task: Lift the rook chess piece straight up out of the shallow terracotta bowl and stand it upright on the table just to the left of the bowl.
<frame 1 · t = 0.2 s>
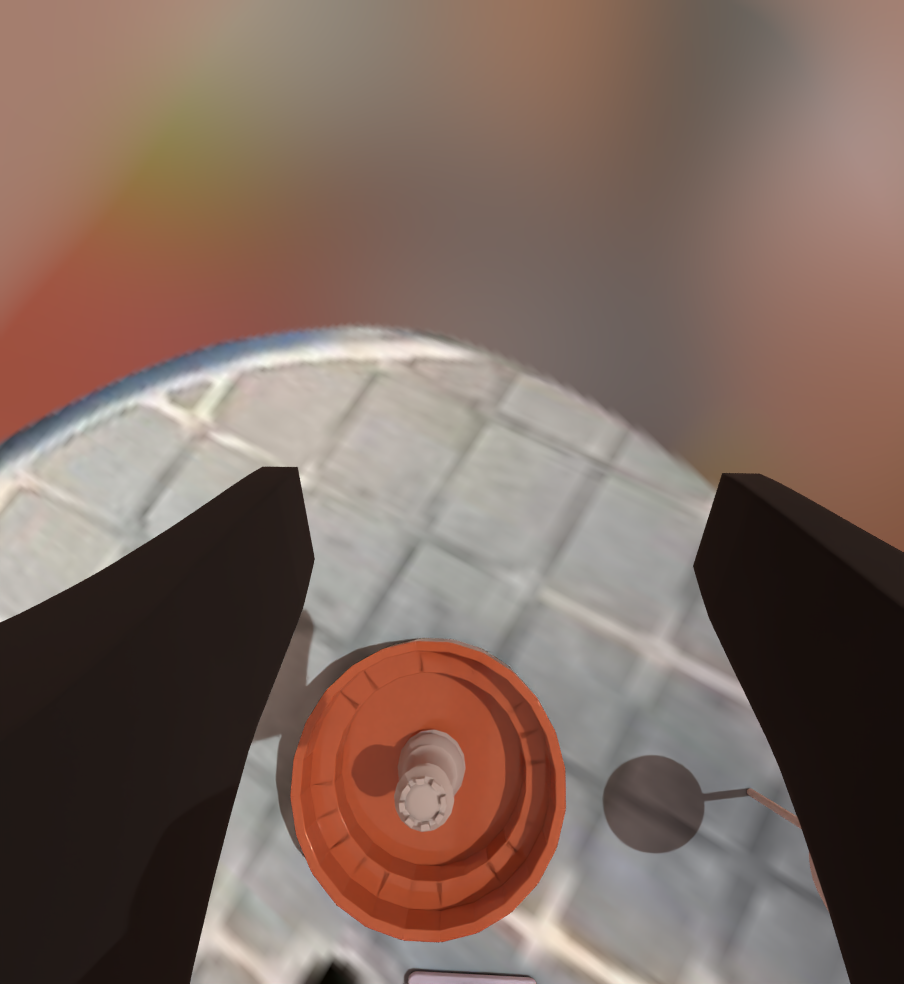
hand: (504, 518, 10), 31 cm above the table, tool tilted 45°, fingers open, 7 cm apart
lollipop: (748, 791, 36), on the table
rook chess piece: (432, 763, 37), resting on terracotta bowl
terracotta bowl: (432, 762, 37), on the table
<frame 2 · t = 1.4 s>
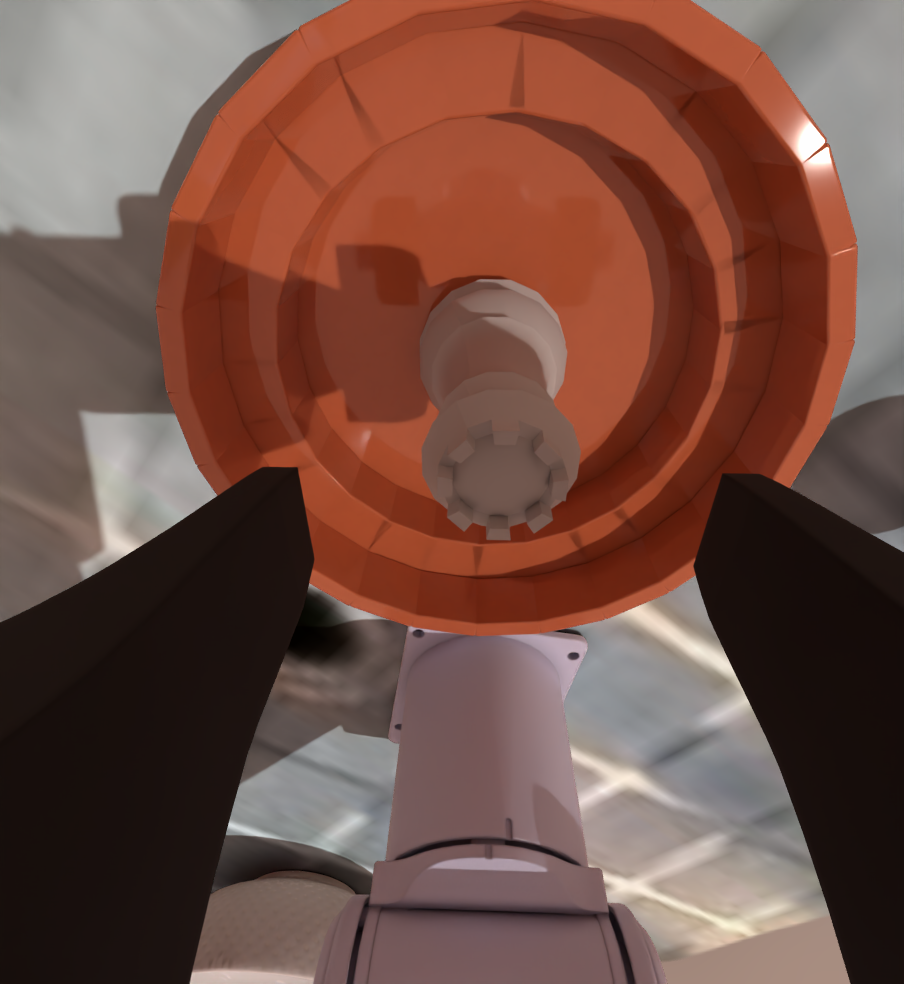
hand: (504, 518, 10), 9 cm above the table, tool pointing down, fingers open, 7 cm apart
rook chess piece: (491, 347, 17), resting on terracotta bowl
cereal bowl: (304, 889, 41), on the table
terracotta bowl: (491, 345, 17), on the table
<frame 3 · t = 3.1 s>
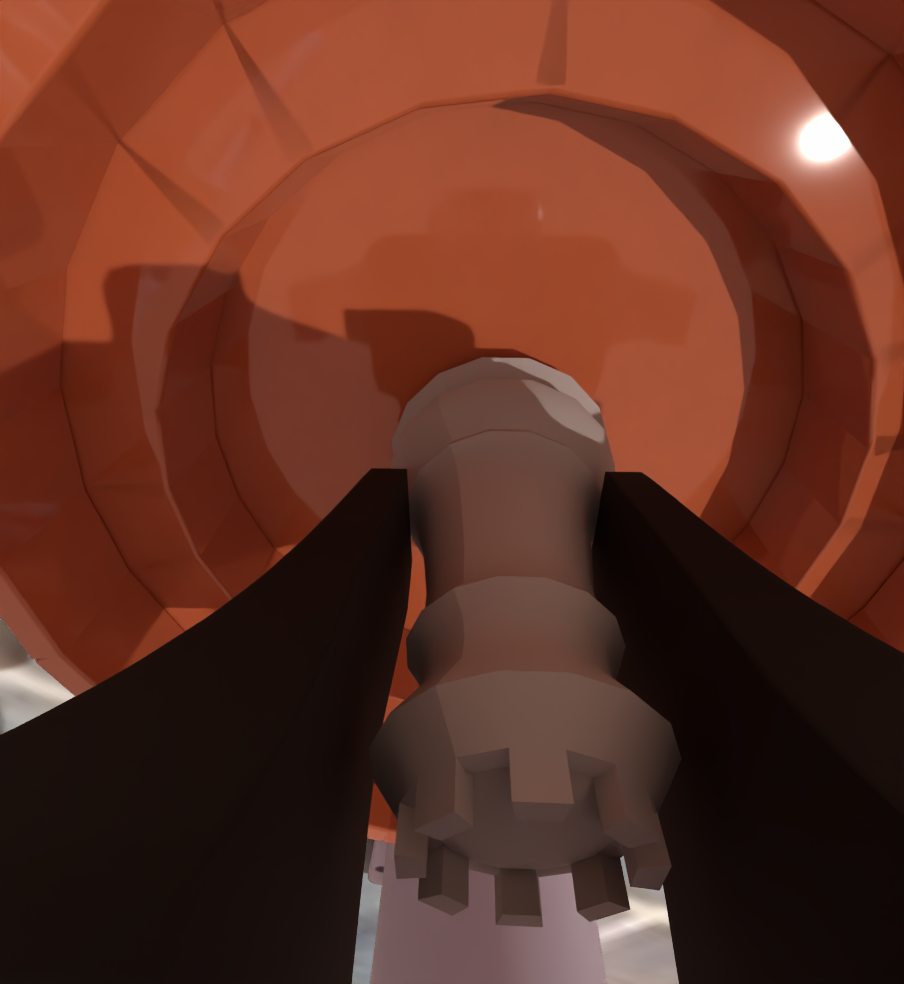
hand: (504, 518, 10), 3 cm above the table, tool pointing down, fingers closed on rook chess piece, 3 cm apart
rook chess piece: (497, 444, 12), resting on terracotta bowl, touching gripper
terracotta bowl: (498, 440, 12), on the table
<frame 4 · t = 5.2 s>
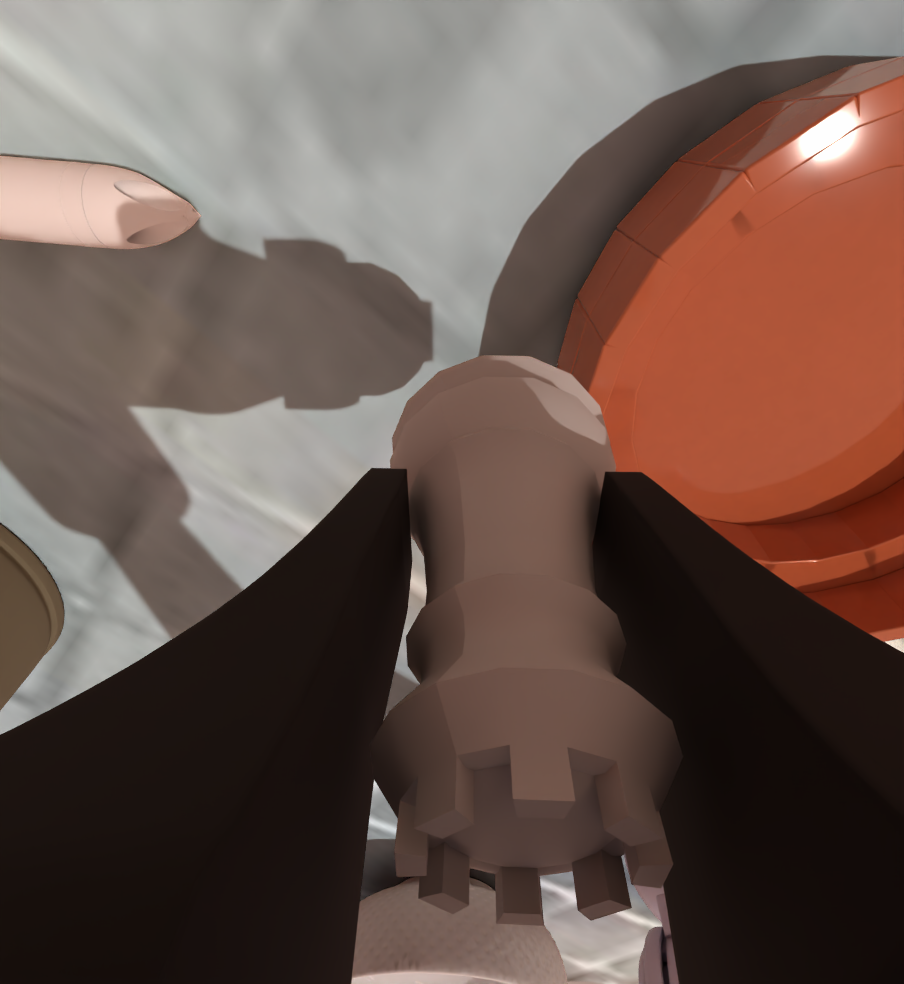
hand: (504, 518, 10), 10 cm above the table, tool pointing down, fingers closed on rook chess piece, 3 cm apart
rook chess piece: (498, 443, 12), point 7 cm above the table, touching gripper
cereal bowl: (445, 892, 42), on the table
terracotta bowl: (802, 370, 18), on the table
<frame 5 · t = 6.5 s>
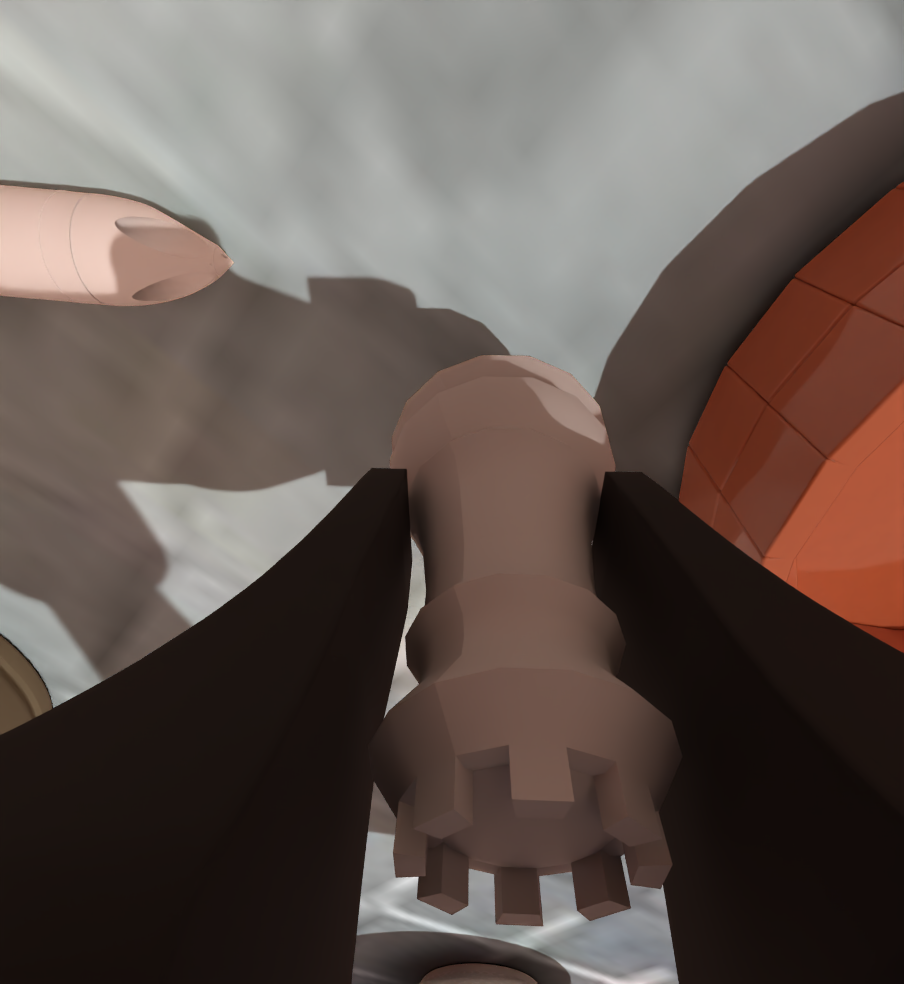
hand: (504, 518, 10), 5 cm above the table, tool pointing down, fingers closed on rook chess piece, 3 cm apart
rook chess piece: (497, 443, 12), point 2 cm above the table, touching gripper
cereal bowl: (479, 979, 37), on the table
when the fingers open (2 cm above the table, at t = 7.5 s): rook chess piece stays where it is, on the table.
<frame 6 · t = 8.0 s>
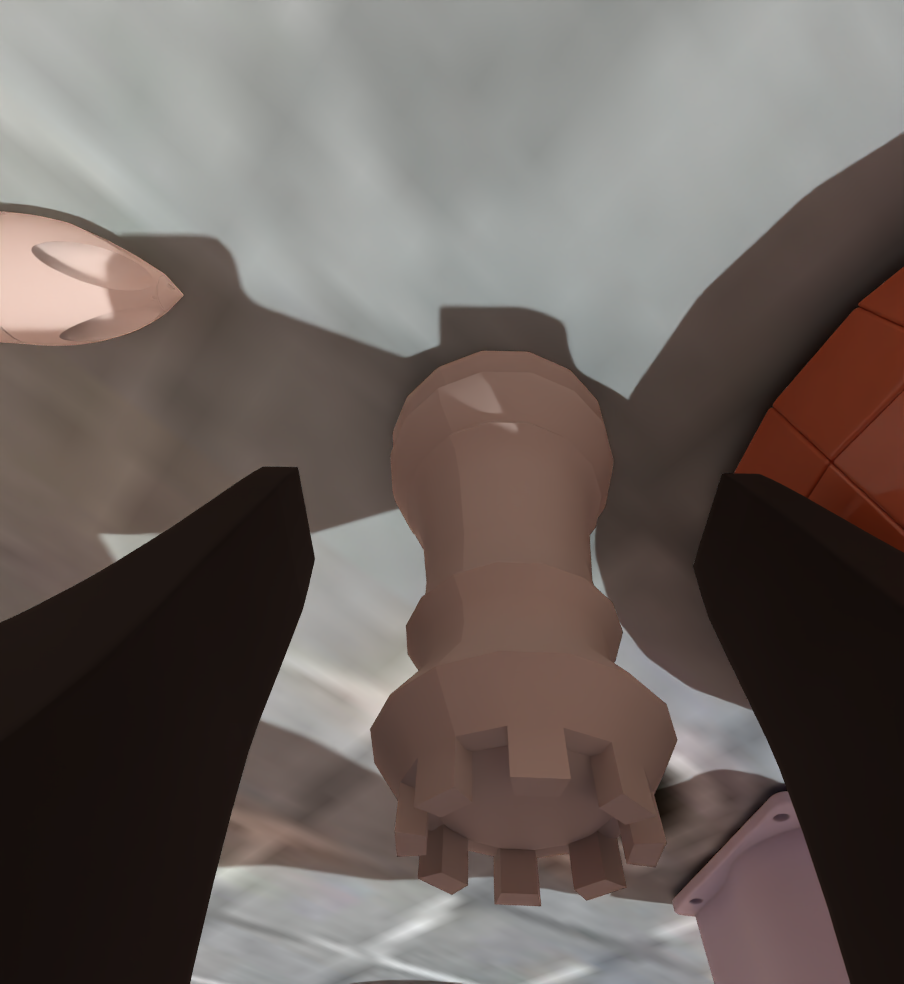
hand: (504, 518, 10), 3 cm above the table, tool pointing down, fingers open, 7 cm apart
rook chess piece: (497, 438, 12), on the table
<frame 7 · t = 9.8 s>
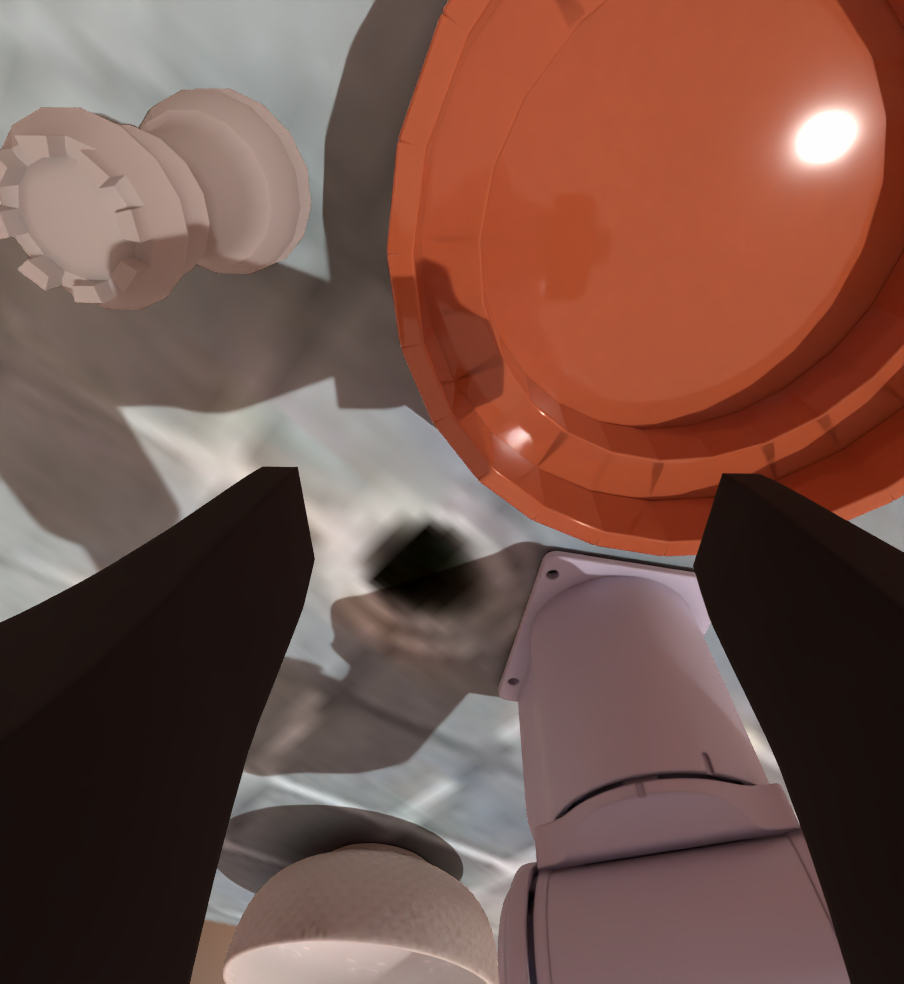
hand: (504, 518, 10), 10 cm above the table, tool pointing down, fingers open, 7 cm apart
rook chess piece: (240, 184, 16), on the table
cereal bowl: (377, 864, 39), on the table
terracotta bowl: (687, 236, 16), on the table
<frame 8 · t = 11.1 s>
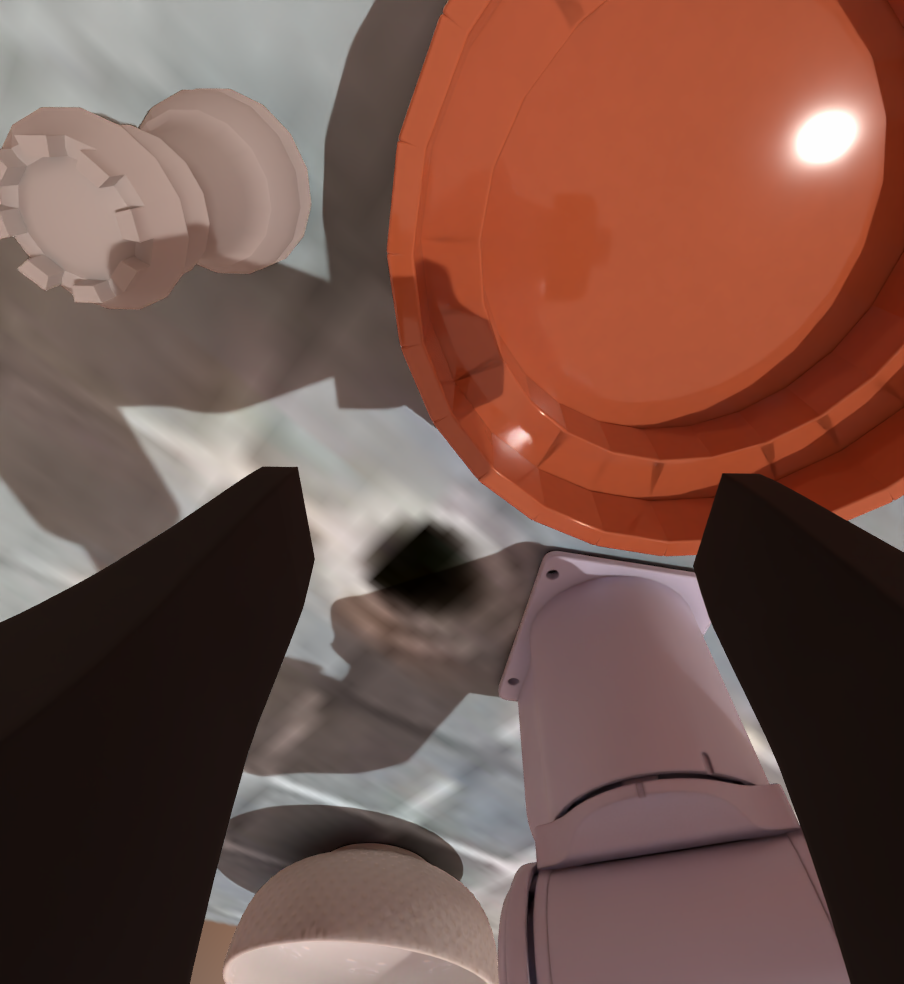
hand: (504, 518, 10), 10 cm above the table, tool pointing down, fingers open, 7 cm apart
rook chess piece: (240, 184, 16), on the table
cereal bowl: (377, 864, 39), on the table
terracotta bowl: (687, 236, 16), on the table
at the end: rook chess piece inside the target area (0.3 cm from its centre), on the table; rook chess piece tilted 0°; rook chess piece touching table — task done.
